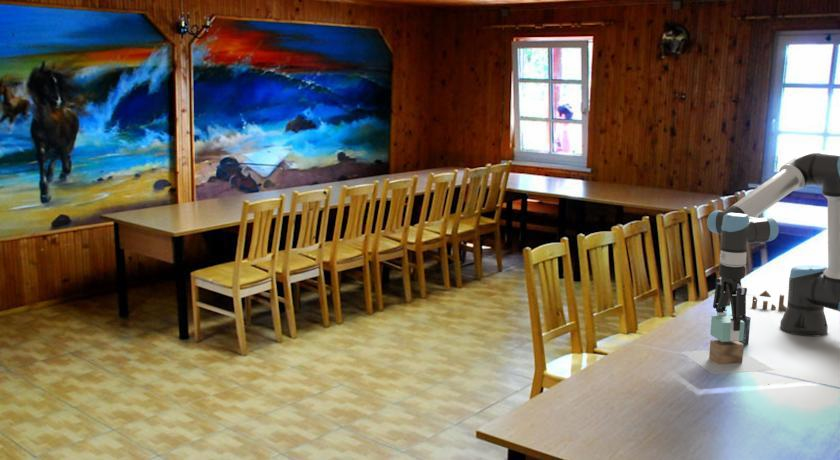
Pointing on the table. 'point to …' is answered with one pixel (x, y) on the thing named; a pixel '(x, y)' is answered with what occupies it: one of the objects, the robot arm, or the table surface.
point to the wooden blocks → (766, 294)
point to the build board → (714, 368)
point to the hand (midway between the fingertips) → (727, 336)
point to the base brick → (726, 352)
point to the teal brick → (724, 328)
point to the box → (746, 331)
